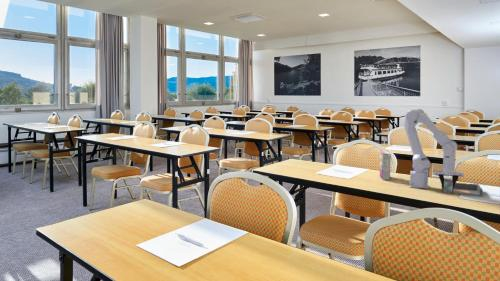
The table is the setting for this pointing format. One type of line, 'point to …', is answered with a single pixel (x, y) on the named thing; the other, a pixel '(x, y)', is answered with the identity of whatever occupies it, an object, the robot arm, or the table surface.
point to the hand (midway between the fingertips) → (447, 188)
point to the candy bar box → (385, 165)
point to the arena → (467, 189)
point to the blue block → (448, 186)
